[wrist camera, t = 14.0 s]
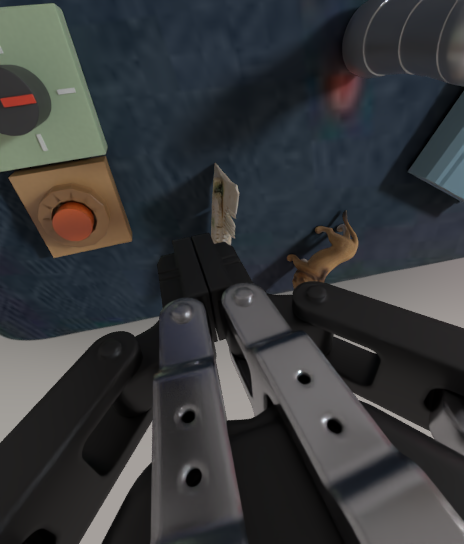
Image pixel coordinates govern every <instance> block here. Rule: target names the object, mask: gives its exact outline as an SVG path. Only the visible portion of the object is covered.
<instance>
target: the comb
mask: <svg viewBox="0 0 464 544" xmlns="http://www.w3.org/2000/svg"><path fill="white" fill-rule="evenodd" d="M212 196H213V197H212V221H211V238H212V240H213V242H214V244H216V243H220V242H226V243H227V244H229V245H231V236H232V237H233V238H234V239H235V236H234V235H235V233H234V232H235V224H234V222H233V220H232V218H231V216H232V217H233V218H235V219H236V215H235V214H236V213H237V206H238V199H239V191H238V186H237V185H236V184H234V183H233V182H231V181H230V179H229V178H228V177H227V176H226V175H225V173H224V172H223V171H222V170H221V169H220V168H219V166H218V165H217V164H216V163H214V179H213V195H212Z"/></svg>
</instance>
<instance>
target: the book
mask: <svg viewBox="0 0 464 544" xmlns="http://www.w3.org/2000/svg"><path fill="white" fill-rule="evenodd" d="M408 172H409V173H410V174H412V175H414V176H416V177H418V178H419V179H421V180H423V181H425V182H427V183H428V184H430V185H432V186H434V187H436V188H437V189H439V190H441V191H443V192H445V193H446V194H448V195H450V196H452V197H454V198H455V199H457V200H459V201H461V202H463V203H464V91H463V93H462V94H461V95H460V97H459V98H458V100H457V101H456V103H455V104H454V106H453V107H452V108H451V110H450V111H449V113H448V114H447V116H446V117H445V119H444V120H443V121H442V123H441V124H440V126H439V127H438V129H437V130H436V132H435V133H434V134H433V136H432V137H431V139H430V140H429V142H428V143H427V144H426V146H425V147H424V149H423V150H422V152H421V153H420V155H419V156H418V157H417V159H416V160H415V162H414V163H413V165H412V166H411V168H410V169H409V170H408Z"/></svg>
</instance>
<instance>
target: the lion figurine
mask: <svg viewBox="0 0 464 544" xmlns="http://www.w3.org/2000/svg"><path fill="white" fill-rule="evenodd" d="M342 217H343V221H344V223H345V225H344V224H341V225H339V226H338V227H337V231H338V232H341V231H343V232H344V233H343V236H342V235H339V234H337V233H335V232H334V231H333V229H332V228H328V227H323V226H318V227H316V228H315V232H316V233H317V234H319V233H321V232H326V233H327V234H328V238H329V241H330V242H331V244H332V246H331V247H330V248H326V249H323V250H320V251H318V252H317V253H315V254H314V255H313V256H312V257H311V258H310V259H309V261H307V260H306V259H301V260H300V259H299V258H298V257H297V256H296V255H293V254H290V255H288V256H287V260H288V261H290V262H291V261H293V262H294V265H295V266H296V268H297V269H298V270H297V271H296V273H295V274H294V279H293V287H294V289H295V288H296V287H297V286H298V285H299V284H301V283H304V282H308V281H319V282H324V280H325V278H326V276H327V274H328V273H329V272H330V271H331V270H332V269H334V268H335V267H336V266H337V265H339V264H340V263H342V262H344V261H347V260H349V259H350V258H352V257H353V256H354V255H355V253H356V251H357V247H358V238H357V236H356V234H355V232H354V231H353V229H352V228H351V226H350V225H349V223H348V221H347V210H345V211H344V212H343V216H342ZM350 235H351V237H352V239H350Z"/></svg>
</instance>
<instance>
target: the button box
mask: <svg viewBox="0 0 464 544" xmlns="http://www.w3.org/2000/svg"><path fill="white" fill-rule="evenodd" d="M8 178H9V180H10V181H11V183H12V185H13V187H14V189H15V190H16V192H17V194H18V196H19V197H20V199H21V201H22V203H23V204H24V206H25V208H26V210H27V211H28V213H29V215H30V217H31V219H32V220H33V222H34V224H35V226H36V227H37V229H38V231H39V233H40V234H41V236H42V238H43V240H44V241H45V243H46V245H47V247H48V249H49V250H50V252H51V254H52V256H53V257H54V258H56V257H61V256H65V255H70V254H74V253H79V252H84V251H88V250H93V249H97V248H102V247H107V246H111V245H116V244H121V243H125V242H130V241H132V231H131V228H130V225H129V222H128V220H127V217H126V214H125V211H124V208H123V205H122V202H121V199H120V196H119V193H118V191H117V188H116V185H115V182H114V179H113V176H112V173H111V170H110V167H109V164H108V162H107V159H106V156H101V157H95V158H89V159H83V160H77V161H71V162H65V163H59V164H53V165H47V166H41V167H35V168H29V169H23V170H17V171H15V172H14V173H12V174H11V175H10V176H9V177H8ZM68 202H76V203H80V204H82V205H84V206H86V207H87V208H88V209H89V210H90V211H91V212H92V214H93V216H94V225H93V229H92V232H91V234H90V236H89V237H87V238H86V239H84V240H81V241H70V240H66V239H64V238H62V237H61V236H59V235H58V234H57V233H56V231H55V230H54V228H53V225H52V220H53V217H54V215H55V213H56V211H57V209H58V208H59V207H60V206H61V205H62V204H65V203H68Z"/></svg>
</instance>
